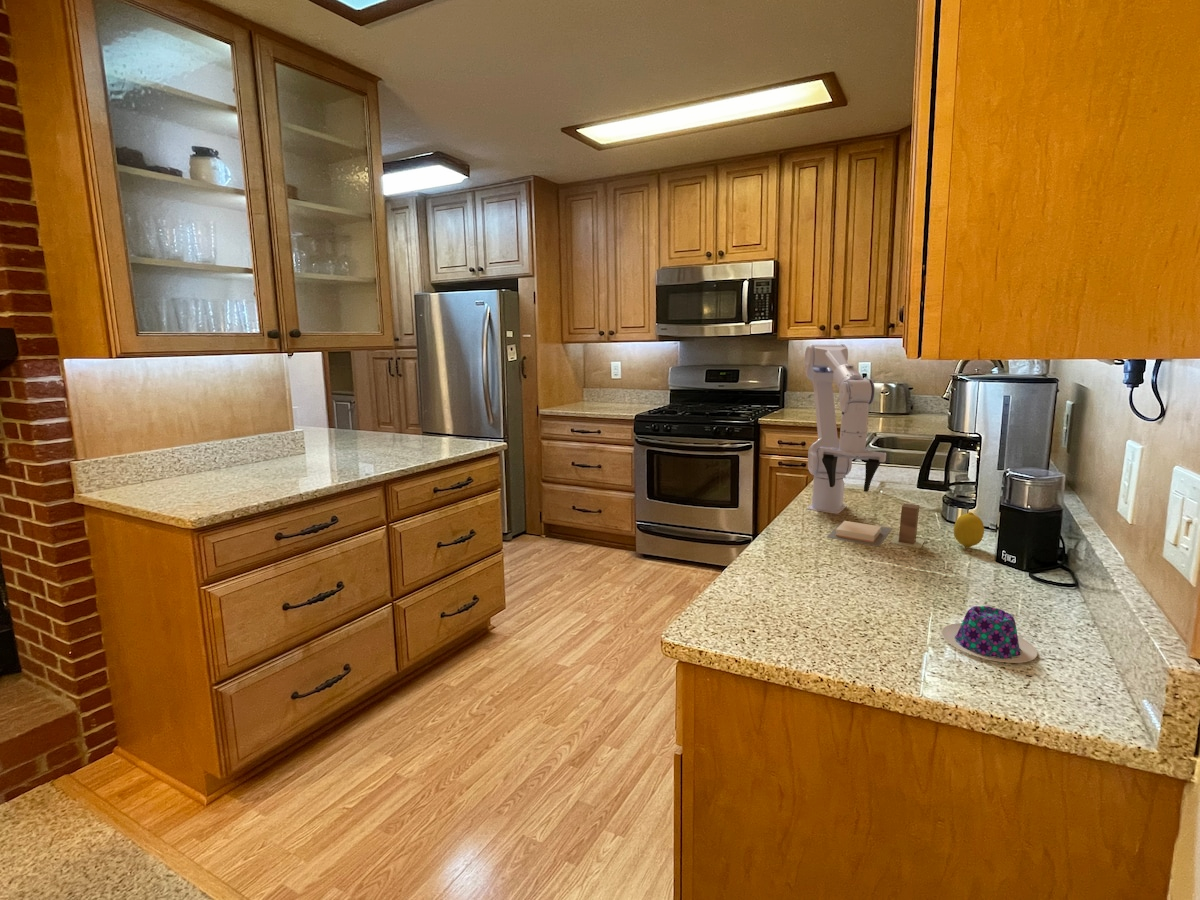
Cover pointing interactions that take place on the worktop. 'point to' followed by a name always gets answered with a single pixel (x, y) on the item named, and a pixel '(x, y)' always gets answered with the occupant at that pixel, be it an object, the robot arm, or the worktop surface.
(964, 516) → the lemon
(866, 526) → the tile
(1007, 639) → the purple patterned hat
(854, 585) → the worktop surface
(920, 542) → the board
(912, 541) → the block
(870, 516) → the worktop surface
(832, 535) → the mat
